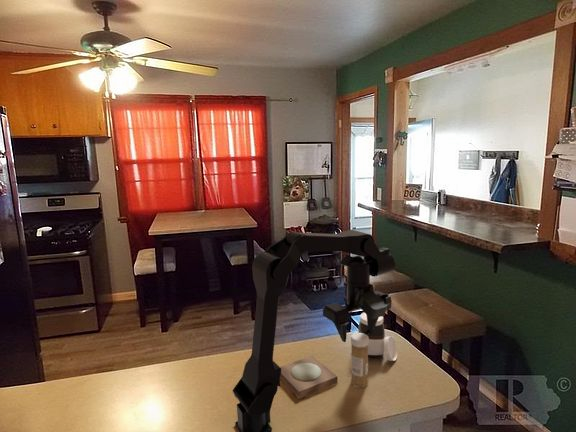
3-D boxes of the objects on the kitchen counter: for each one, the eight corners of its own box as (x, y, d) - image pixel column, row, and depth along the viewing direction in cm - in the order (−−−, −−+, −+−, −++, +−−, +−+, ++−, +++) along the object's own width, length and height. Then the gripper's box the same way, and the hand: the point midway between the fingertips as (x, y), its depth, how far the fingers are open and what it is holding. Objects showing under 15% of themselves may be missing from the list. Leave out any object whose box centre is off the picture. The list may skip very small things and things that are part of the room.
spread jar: (356, 343, 120) (357, 309, 118) (392, 344, 119) (393, 309, 116) (360, 364, 108) (360, 327, 106) (400, 365, 107) (401, 328, 105)
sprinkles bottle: (371, 384, 99) (372, 337, 97) (359, 390, 97) (359, 342, 94) (359, 375, 103) (359, 330, 100) (347, 381, 100) (347, 335, 98)
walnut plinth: (299, 398, 94) (299, 390, 93) (276, 374, 104) (276, 367, 104) (337, 383, 100) (337, 375, 99) (312, 361, 110) (312, 354, 110)
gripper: (350, 298, 84) (349, 362, 86) (408, 281, 93) (406, 339, 96) (321, 283, 93) (321, 341, 96) (376, 269, 102) (375, 323, 105)
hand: (357, 336), depth 98 cm, fingers open, 9 cm apart
